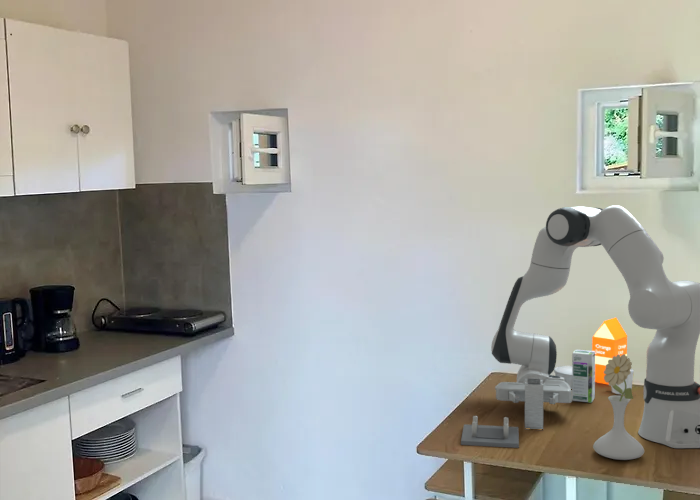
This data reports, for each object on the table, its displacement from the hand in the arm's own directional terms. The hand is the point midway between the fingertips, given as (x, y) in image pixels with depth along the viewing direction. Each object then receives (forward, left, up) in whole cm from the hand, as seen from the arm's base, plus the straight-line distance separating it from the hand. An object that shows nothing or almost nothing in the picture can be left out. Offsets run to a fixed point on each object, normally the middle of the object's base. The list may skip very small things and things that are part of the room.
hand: (534, 400), depth 205 cm
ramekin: (-13, -40, -7) cm, 43 cm away
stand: (+11, +12, -6) cm, 18 cm away
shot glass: (-27, -36, -7) cm, 45 cm away
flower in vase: (-19, +21, -7) cm, 29 cm away
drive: (0, +2, -7) cm, 7 cm away
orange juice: (-25, -48, -7) cm, 55 cm away
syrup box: (-15, -26, -7) cm, 30 cm away
